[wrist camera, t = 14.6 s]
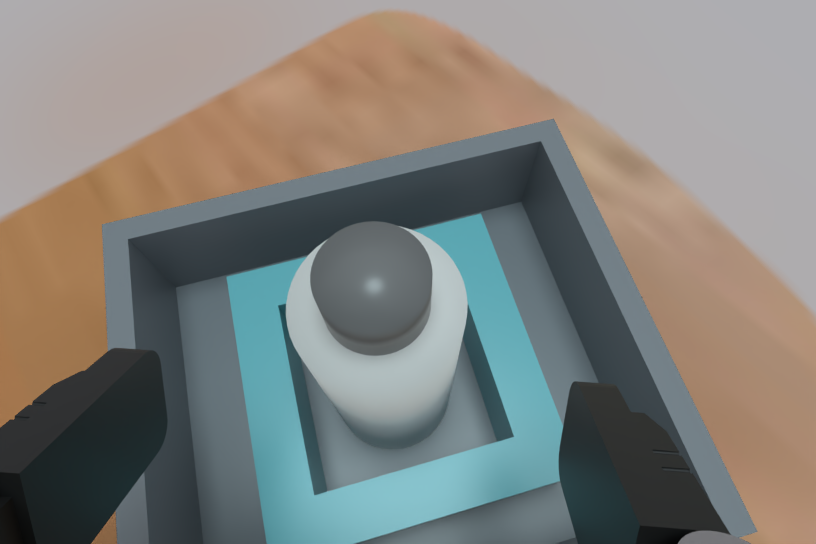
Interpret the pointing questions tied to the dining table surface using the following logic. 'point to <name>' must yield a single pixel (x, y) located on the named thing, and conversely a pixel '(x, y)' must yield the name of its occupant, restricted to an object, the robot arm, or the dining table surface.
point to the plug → (380, 329)
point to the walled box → (473, 380)
